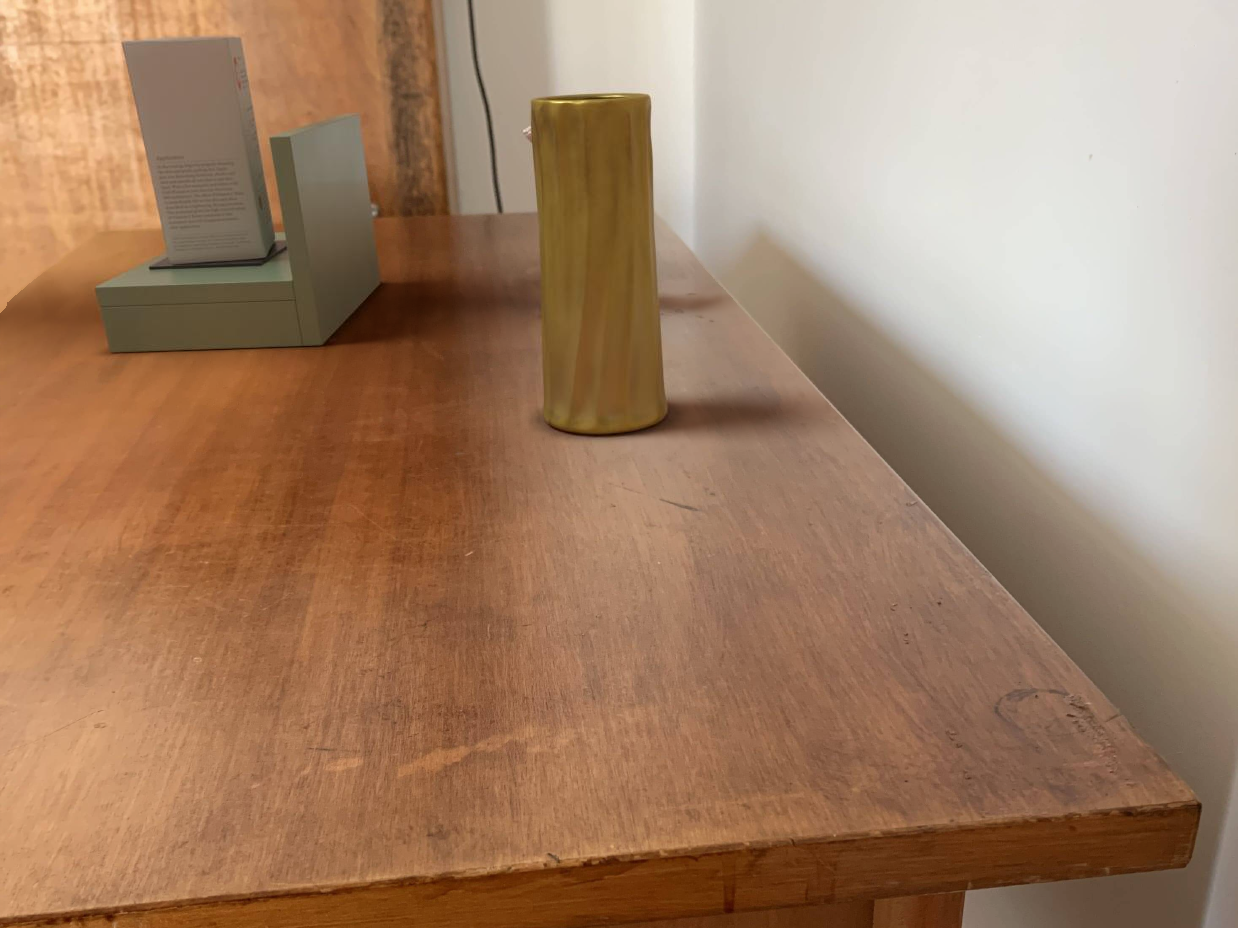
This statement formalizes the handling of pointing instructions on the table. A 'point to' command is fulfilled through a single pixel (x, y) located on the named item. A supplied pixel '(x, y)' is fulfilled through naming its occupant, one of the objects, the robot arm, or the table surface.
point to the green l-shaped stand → (265, 262)
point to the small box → (201, 147)
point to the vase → (598, 262)
